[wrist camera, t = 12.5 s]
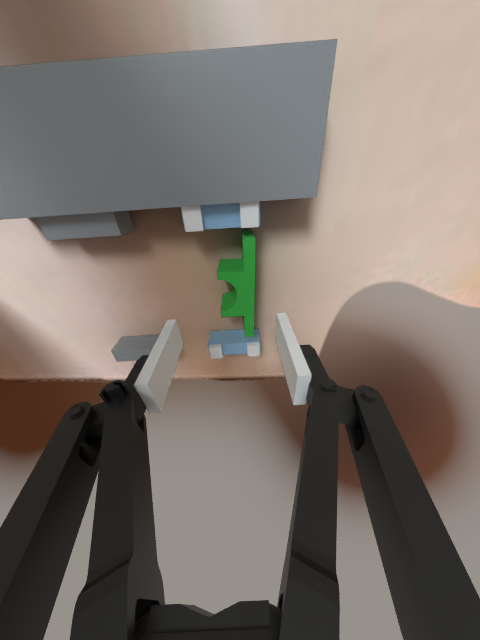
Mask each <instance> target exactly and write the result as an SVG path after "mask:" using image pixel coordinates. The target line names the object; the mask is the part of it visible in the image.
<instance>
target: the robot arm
mask: <svg viewBox="0 0 480 640" xmlns="http://www.w3.org/2000/svg"><path fill="white" fill-rule="evenodd" d="M275 340H276V343H277V347H278V351H279V354H280V358H281V362H282V365H283V369H284V373H285V376H286V380H287V384H288V387H289V391H290V395H291V399H292V402H293V405H304V404H306V399H307V402H308V405H309V408H308V412H307V420H306V427H305V433H304V439H303V446H302V453H301V459H300V466H299V472H298V479H297V486H296V492H295V498H294V505H293V511H292V518H291V525H290V531H289V537H288V544H287V551H286V557H285V563H284V568H283V574H282V579H281V586H280V593H279V598H278V605H277V607H276V606H274V605H272V604H270V603H269V601H268V600H265V601H264V600H263V601H240V602H238V603H236V604H234V605H232V606H230V607H228V608H226V609H224V610H222V611H220V612H219V613H217V614H212V613H210V612H208V611H205V610H203V609H201V608H199V607H197V606H195V605H184V604H170V605H165V601H164V589H163V581H162V576H161V572H160V570H159V567H158V561H157V553H156V540H155V527H154V514H153V502H152V490H151V477H150V465H149V453H148V441H147V428H146V418H145V415H144V413H145V410H146V408H147V410H148V412H149V413H161V411H162V408H163V405H164V402H165V399H166V396H167V393H168V390H169V387H170V384H171V381H172V378H173V375H174V372H175V369H176V366H177V363H178V360H179V357H180V353H181V350H182V347H183V340H182V337H181V333H180V330H179V327H178V323H177V320H176V319H172V320H167V321H166V323H165V325H164V327H163V329H162V331H161V333H160V335H159V337H158V339H157V341H156V343H155V345H154V347H153V349H152V351H151V353H150V355H142V356H141V357H140V358H139V359H138V360H137V361H136V363H135V365H134V368H132V370H131V373H130V374H129V375H128V377H127V379H126V381H125V382H124V381H122V380H116V381H113V382H111V383H109V384H107V385H106V386H105V387H103V389H102V390H101V391H100V394H99V395H100V397H101V398H102V399H103V401H104V402H102V403H99V404H96V405H93V406H92V405H91V404H90V403H88V402H81V403H78V404H76V405H74V406H72V407H71V408H70V409H69V410H68V411H67V412H66V413H65V414H64V416H63V417H62V419H61V421H60V423H59V425H58V426H57V428H56V430H55V432H54V434H53V435H52V437H51V439H50V441H49V442H48V444H47V446H46V448H45V449H44V451H43V453H42V455H41V457H40V458H39V460H38V462H37V464H36V466H35V467H34V469H33V471H32V473H31V474H30V476H29V478H28V480H27V482H26V483H25V485H24V487H23V488H22V490H21V492H20V494H19V496H18V497H17V499H16V501H15V503H14V504H13V506H12V508H11V510H10V512H9V513H8V515H7V517H6V519H5V520H4V522H3V524H2V526H1V527H0V640H43V638H44V635H45V632H46V629H47V626H48V623H49V620H50V617H51V613H52V610H53V607H54V604H55V601H56V598H57V595H58V592H59V589H60V586H61V583H62V580H63V577H64V574H65V571H66V568H67V565H68V562H69V559H70V555H71V552H72V549H73V546H74V543H75V540H76V537H77V534H78V531H79V528H80V525H81V522H82V519H83V516H84V513H85V510H86V507H87V504H88V501H89V498H90V494H91V491H92V488H93V485H94V482H95V479H96V476H97V473H98V470H99V473H98V484H97V492H96V502H95V512H94V521H93V530H92V540H91V550H90V559H89V568H88V576H87V581H86V584H85V586H84V588H83V589H82V591H81V593H80V594H79V596H78V599H77V602H76V604H75V609H74V614H73V620H72V627H71V635H70V640H339V612H340V606H339V605H340V604H339V585H338V580H337V575H336V530H337V529H336V528H337V477H338V423H343V424H345V427H346V431H347V434H348V438H349V442H350V446H351V449H352V453H353V457H354V460H355V464H356V468H357V471H358V475H359V478H360V482H361V486H362V490H363V493H364V497H365V501H366V504H367V508H368V512H369V515H370V519H371V523H372V526H373V530H374V534H375V537H376V541H377V545H378V549H379V552H380V556H381V559H382V563H383V567H384V571H385V574H386V578H387V581H388V585H389V589H390V592H391V596H392V600H393V603H394V607H395V611H396V615H397V618H398V622H399V626H400V629H401V633H402V636H403V639H404V640H480V598H479V596H478V594H477V592H476V590H475V588H474V586H473V584H472V582H471V579H470V577H469V576H468V573H467V572H466V569H465V567H464V565H463V563H462V561H461V559H460V557H459V555H458V553H457V551H456V549H455V546H454V544H453V542H452V540H451V538H450V536H449V534H448V532H447V530H446V528H445V526H444V524H443V522H442V520H441V518H440V516H439V513H438V511H437V509H436V507H435V505H434V503H433V501H432V499H431V497H430V495H429V493H428V491H427V489H426V487H425V484H424V482H423V480H422V478H421V476H420V474H419V472H418V470H417V468H416V466H415V464H414V462H413V460H412V458H411V456H410V454H409V451H408V449H407V447H406V445H405V443H404V441H403V439H402V437H401V435H400V433H399V431H398V429H397V427H396V425H395V423H394V421H393V419H392V416H391V415H390V412H389V410H388V408H387V406H386V404H385V402H384V400H383V398H382V396H381V395H380V393H379V392H378V391H376V390H375V389H373V388H371V387H369V386H365V385H363V386H358V387H356V389H355V390H353V389H348V388H343V387H340V386H338V385H337V384H336V383H335V382H334V381H333V380H331V379H329V377H328V375H327V373H326V371H325V369H324V367H323V365H322V363H321V361H320V359H319V357H318V355H317V353H316V351H315V349H314V348H313V347H311V346H310V345H299V343H298V341H297V338H296V336H295V334H294V331H293V329H292V326H291V324H290V322H289V319H288V317H287V314H286V312H283V313H276V333H275Z"/></svg>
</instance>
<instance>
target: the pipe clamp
mask: <svg viewBox="0 0 480 640" xmlns="http://www.w3.org/2000/svg"><path fill="white" fill-rule="evenodd" d="M255 245H256V239H255V236H254V234H253V231H242V259H220V262H219V266H218V271H217V276H218V280H224V281H227V282H229V283H230V284H231V285H233V287H234V289H233V290H232V291H231V292H229V293H226V294H223V297H222V306H221V317H236V316H243V317H244V333H245V337H254V304H255Z"/></svg>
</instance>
